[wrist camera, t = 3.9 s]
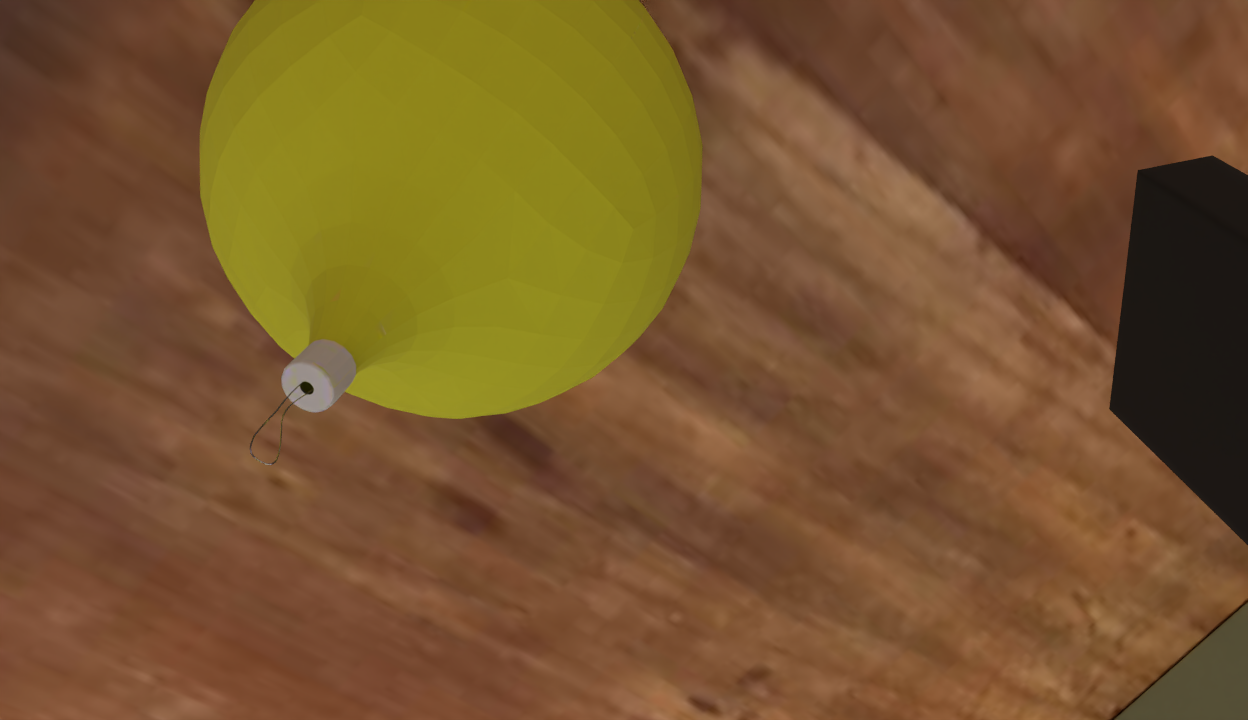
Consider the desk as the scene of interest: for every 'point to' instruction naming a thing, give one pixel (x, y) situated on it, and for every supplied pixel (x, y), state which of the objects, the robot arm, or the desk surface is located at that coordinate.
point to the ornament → (449, 193)
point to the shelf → (1203, 680)
